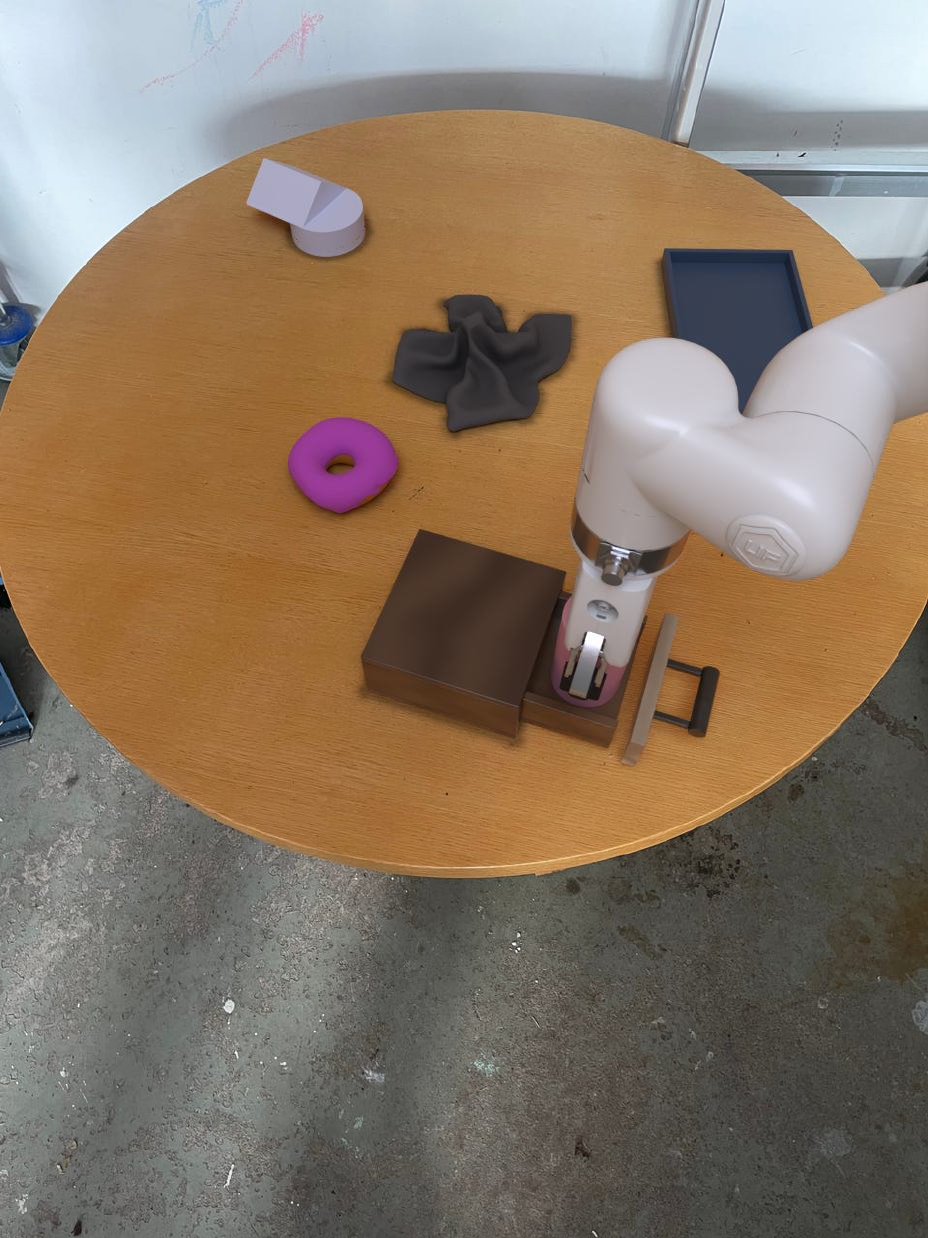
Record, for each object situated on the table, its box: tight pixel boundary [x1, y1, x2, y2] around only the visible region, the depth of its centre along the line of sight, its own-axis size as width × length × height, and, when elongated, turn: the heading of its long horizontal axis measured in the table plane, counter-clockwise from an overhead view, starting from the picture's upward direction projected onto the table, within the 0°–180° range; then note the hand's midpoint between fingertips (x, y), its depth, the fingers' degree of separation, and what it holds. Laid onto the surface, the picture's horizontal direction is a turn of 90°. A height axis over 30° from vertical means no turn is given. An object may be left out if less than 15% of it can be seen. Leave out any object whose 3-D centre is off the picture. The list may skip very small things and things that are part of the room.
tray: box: [660, 247, 814, 415], centre depth 96 cm, size 31×15×2 cm, turn 179°
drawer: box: [519, 590, 721, 768], centre depth 73 cm, size 17×12×5 cm
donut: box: [287, 416, 400, 514], centre depth 86 cm, size 10×10×5 cm
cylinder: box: [551, 596, 641, 707], centre depth 70 cm, size 6×6×10 cm
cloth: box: [390, 293, 572, 432], centre depth 94 cm, size 22×19×6 cm
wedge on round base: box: [245, 157, 366, 258], centre depth 104 cm, size 9×7×13 cm
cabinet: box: [360, 528, 567, 740], centre depth 75 cm, size 14×14×7 cm
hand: (593, 646), depth 70 cm, fingers open, 7 cm apart
